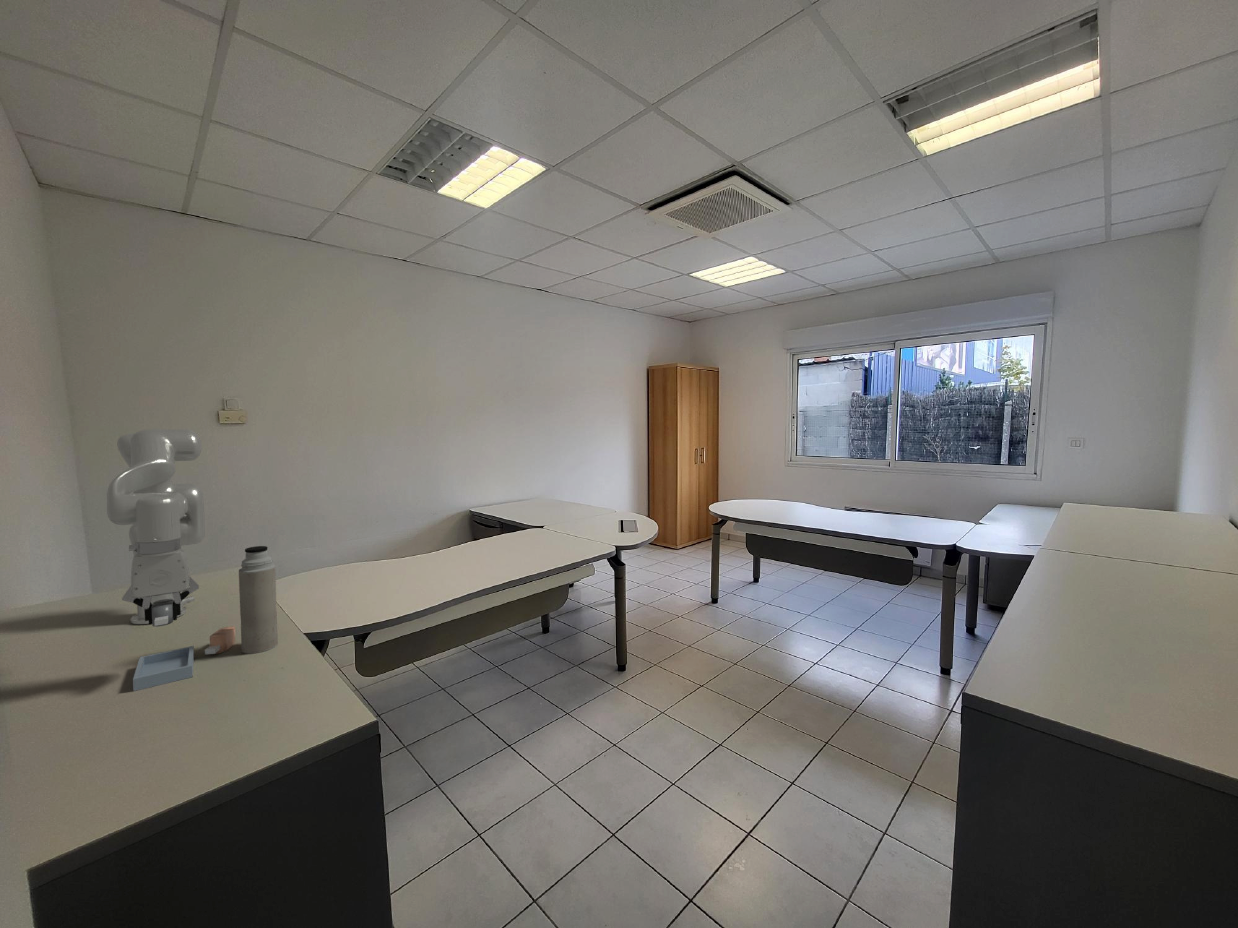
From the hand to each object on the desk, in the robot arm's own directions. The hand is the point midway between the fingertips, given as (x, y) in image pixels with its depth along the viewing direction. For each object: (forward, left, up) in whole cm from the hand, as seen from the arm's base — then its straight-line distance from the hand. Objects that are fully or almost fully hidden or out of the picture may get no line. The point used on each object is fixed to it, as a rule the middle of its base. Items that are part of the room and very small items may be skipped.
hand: (163, 619), depth 116 cm
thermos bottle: (-16, +10, -13) cm, 23 cm away
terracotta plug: (-13, +1, -13) cm, 18 cm away
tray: (0, 0, -13) cm, 13 cm away
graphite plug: (+1, +1, 0) cm, 1 cm away
